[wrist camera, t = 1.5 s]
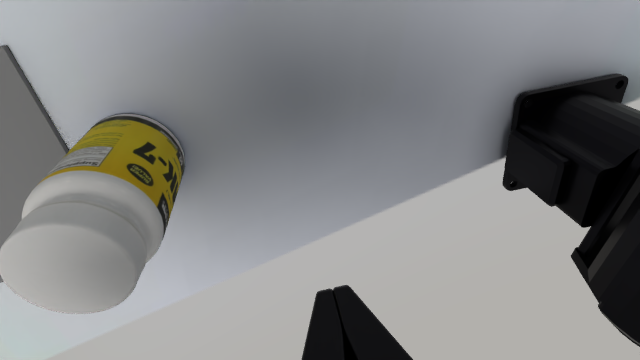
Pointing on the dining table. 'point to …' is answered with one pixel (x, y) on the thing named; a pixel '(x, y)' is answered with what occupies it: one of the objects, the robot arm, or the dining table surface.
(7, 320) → the dining table surface
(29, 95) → the mat
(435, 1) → the dining table surface
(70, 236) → the supplement bottle
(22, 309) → the dining table surface
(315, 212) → the dining table surface
